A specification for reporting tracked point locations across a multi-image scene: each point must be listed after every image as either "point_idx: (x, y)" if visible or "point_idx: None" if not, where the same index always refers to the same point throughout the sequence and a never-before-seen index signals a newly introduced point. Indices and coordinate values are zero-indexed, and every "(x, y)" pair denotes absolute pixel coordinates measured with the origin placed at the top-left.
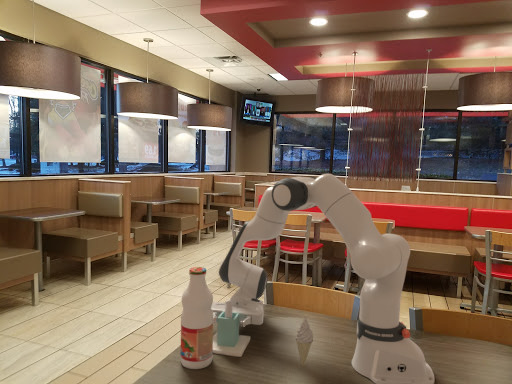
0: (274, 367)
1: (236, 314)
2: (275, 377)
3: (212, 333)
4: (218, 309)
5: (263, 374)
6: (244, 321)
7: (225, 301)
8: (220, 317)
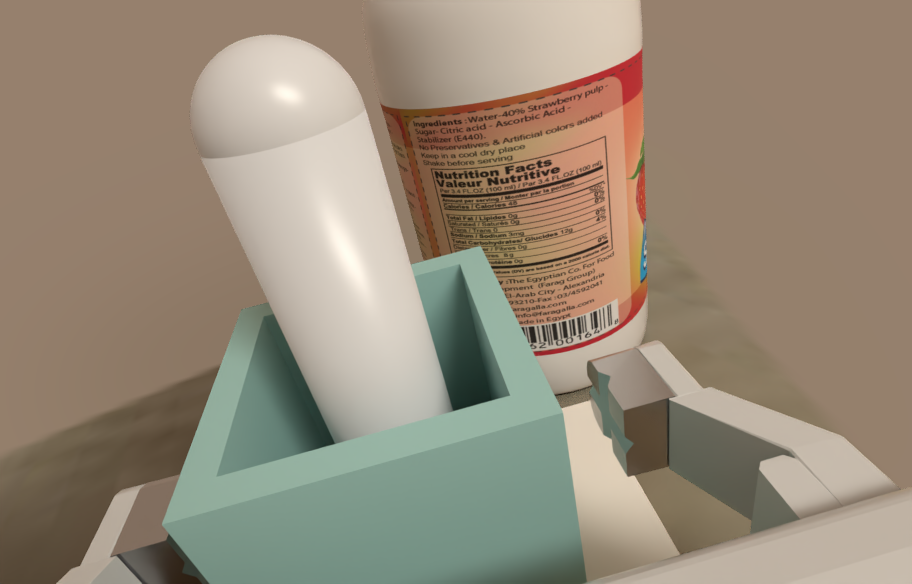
0: (39, 517)
1: (227, 432)
2: (68, 438)
3: (403, 185)
4: (853, 541)
5: (133, 427)
6: (119, 495)
7: (341, 66)
8: (447, 260)
